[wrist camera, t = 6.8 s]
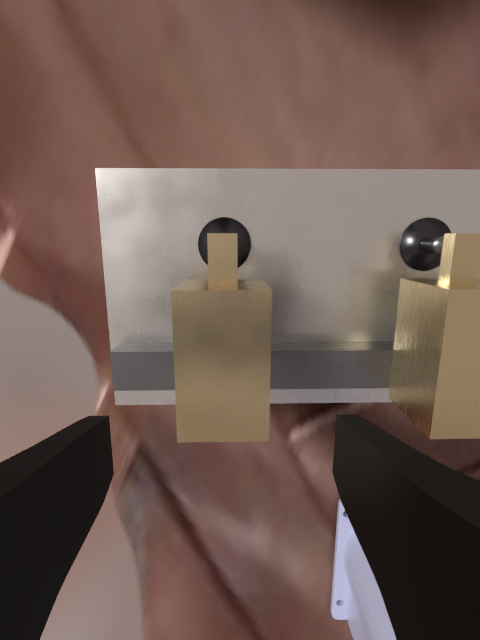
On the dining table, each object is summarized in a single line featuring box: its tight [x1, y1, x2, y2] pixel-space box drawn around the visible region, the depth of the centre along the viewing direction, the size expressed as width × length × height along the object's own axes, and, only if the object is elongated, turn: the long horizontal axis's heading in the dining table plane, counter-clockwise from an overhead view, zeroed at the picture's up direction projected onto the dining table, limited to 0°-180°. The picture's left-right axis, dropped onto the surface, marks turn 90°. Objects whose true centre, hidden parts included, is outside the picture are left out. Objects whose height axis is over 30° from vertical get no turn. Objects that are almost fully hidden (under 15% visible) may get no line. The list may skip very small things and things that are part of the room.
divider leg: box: [171, 233, 272, 442], centre depth 15 cm, size 8×4×5 cm, turn 0°
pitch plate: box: [95, 168, 480, 439], centre depth 16 cm, size 12×20×7 cm, turn 90°
